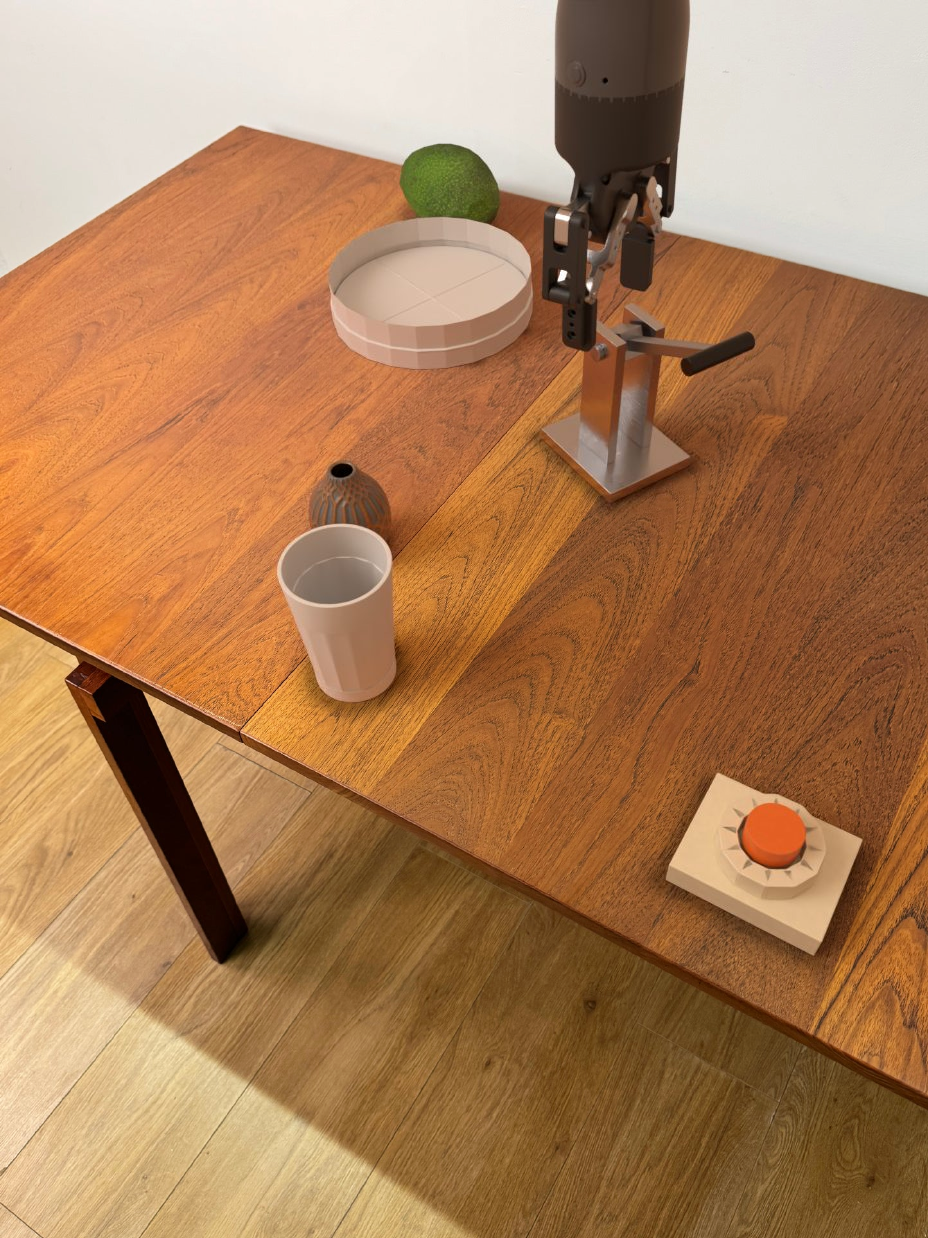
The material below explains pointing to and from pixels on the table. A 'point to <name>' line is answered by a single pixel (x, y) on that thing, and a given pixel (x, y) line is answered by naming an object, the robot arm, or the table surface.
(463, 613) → the table surface
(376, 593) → the cup
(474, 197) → the fruit
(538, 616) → the table surface
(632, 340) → the metal lever
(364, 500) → the vase
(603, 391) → the lever bracket
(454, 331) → the dish
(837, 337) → the table surface
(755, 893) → the block
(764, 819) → the power button
